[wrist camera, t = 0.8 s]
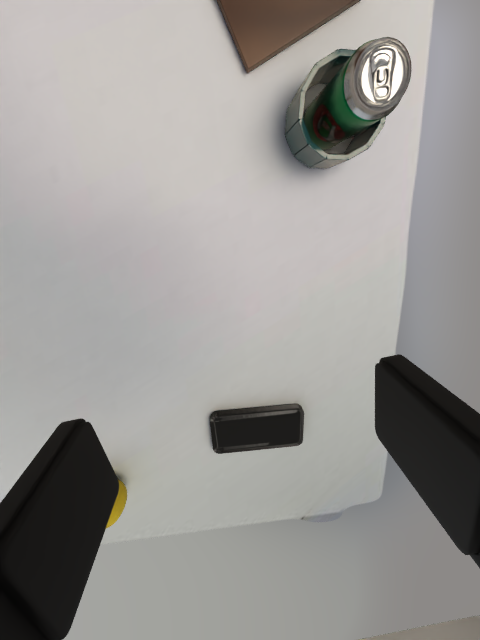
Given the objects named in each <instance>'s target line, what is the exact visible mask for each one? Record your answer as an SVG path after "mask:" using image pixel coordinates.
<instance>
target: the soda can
mask: <svg viewBox="0 0 480 640" xmlns="http://www.w3.org/2000/svg"><path fill="white" fill-rule="evenodd" d="M410 77H411V60H410V56H409V53H408V51H407V49H406V48H405V46H404V45H403V44H402V43H401V42H400V41H398V40H397V39H394V38H390V37H383V38H380V39H375V40H371V41H369V42H366V43H364V44H363V45H362V46H360V47H359V48H358V49H357V50H356V51H355V52H354V53H353V54H352V56H351V57H350V58H349V59H348V60H347V62H346V63H345V64H344V65H343V66H342V67H341V69H340V70H339V71H338V72H337V73H336V74H335V76H334V77H333V78H332V79H331V80H330V82H329V83H328V84H327V85H326V86H325V87H324V89H323V90H322V91H321V92H320V93H319V94H318V96H317V97H316V98H315V99H314V100H313V102H312V103H311V104H310V105H309V107H308V108H307V110H306V112H305V114H304V118H303V119H304V122H305V125H306V128H307V130H308V133H309V136H310V138H311V141H312V142H313V143H315V144H316V145H317V146H319V147H320V148H321V149H322V150H327V149H330V148H332V147H334V146H336V145H338V144H339V143H341V142H343V141H345V140H346V139H348V138H350V137H352V136H353V135H355V134H357V133H358V132H360V131H362V130H364V129H365V128H367V127H369V126H371V125H372V124H374V123H376V122H377V121H379V120H381V119H383V118H384V117H386V116H387V115H389V114H390V113H391V112H392V111H393V110H394V109H395V107H396V106H397V105H398V103H399V102H400V100H401V98H402V96H403V95H404V93H405V91H406V89H407V87H408V84H409V81H410Z"/></svg>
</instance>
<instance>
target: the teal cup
mask: <svg viewBox="0 0 480 640" xmlns="http://www.w3.org/2000/svg"><path fill="white" fill-rule="evenodd" d="M355 51H356V50H348V49H339V50H336V51H334V52H333V53H331V54H330V55H328V56H327V57H325V58H323V59H322V60H320V61H319V62H317V63H316V64H315V65H314V67H313V68H312V70H311V71H310V73H309V74H308V76H307V77H306V79H305V80H304V82H303V83H302V85H301V86H300V88H299V89H298V91H297V93H296V95H295V97H294V98H293V100H292V102H291V104H290V106H289V107H288V109H287V112H286V126H285V135H286V136H285V137H286V140H287V142H288V144H289V147H290V149H291V152H292V154H293V155H294V157H295V158H296V159H298V160H299V161H300V162H302V163H303V164H304V165H306V166H307V167H309V168H321V169H327V168H330V167H333V166H335V165H338V164H340V163H342V162H345V161H347V160H349V159H351V158H353V157H355V156H356V155H358V154H360V153H362V152H363V151H365V150H367V149H368V148H369V147H370V146H371V144H372V143H373V141H374V140H375V138H376V137H377V135H378V134H379V132H380V131H381V129H382V128H383V126H384V124H385V119H386V117H384V118H383V119H381V120H379V121H377V122H376V123H374V124H372V125H371V126H369V127H367V128H365V129H364V130H362V131H360V132H358V133H357V134H355V135H354V138H353V140H352V141H351V143H350V145H349V146H348V148H347V149H346V151H345V152H344V154H327V153H326V152H325V151H324V150H322V149H321V148H320V147H319V146H317V145H316V144H315V143H313V142H312V141H311V138H310V136H309V133H308V130H307V128H306V125H305V122H304V119H303V116H304V104H305V93H306V91H307V90H308V89H310V88H311V87H313V86H314V85H316V84H318V83H327V84H328V83H329V82H330V80H331V79H332V78H333V77H334V76H335V74H336V73H337V72H338V71H339V70H340V69H341V67H342V66H343V65H344V64H345V63H346V62H347V60H348V59H349V58H350V57H351V56H352V54H353V53H354V52H355Z"/></svg>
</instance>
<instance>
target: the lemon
mask: <svg viewBox="0 0 480 640" xmlns="http://www.w3.org/2000/svg"><path fill="white" fill-rule="evenodd" d="M118 481H119V492H118V495H117V498H116V501H115V504H114V506H113V509H112V512H111V515H110V518H109V520H108V523H107V526H106V528H108V527H110V526H111V525H113V524H114V523H115V522H116V521H117V520H118V518H119V517H120V515H121V513H122V512H123V509H124V507H125V504H126V500H127V490H126V487H125V485H124V484H123V482H121V481H120V480H118Z"/></svg>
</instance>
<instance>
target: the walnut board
mask: <svg viewBox="0 0 480 640" xmlns="http://www.w3.org/2000/svg"><path fill="white" fill-rule="evenodd" d="M359 1H360V0H217V2H218V5H219V7H220V9H221V12H222V14H223V17H224V19H225V21H226V24H227V26H228V29H229V31H230V33H231V36H232V38H233V41H234V43H235V45H236V48H237V50H238V53H239V55H240V57H241V60H242V62H243V64H244V67H245V69H246V72H247V73H249V72H250V71H252V70H253V69H255V68H256V67H258V66H259V65H261V64H263V63H264V62H266V61H267V60H269V59H270V58H272V57H273V56H275V55H277V54H278V53H280V52H281V51H283V50H284V49H286V48H287V47H289V46H290V45H292V44H294V43H295V42H297V41H298V40H300V39H301V38H303V37H304V36H306V35H308V34H309V33H311V32H312V31H314V30H315V29H317V28H318V27H320V26H322V25H323V24H325V23H326V22H328V21H329V20H331V19H332V18H334V17H335V16H337V15H339V14H340V13H342V12H343V11H345V10H346V9H348V8H349V7H351V6H353V5H354V4H356V3H357V2H359Z"/></svg>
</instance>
